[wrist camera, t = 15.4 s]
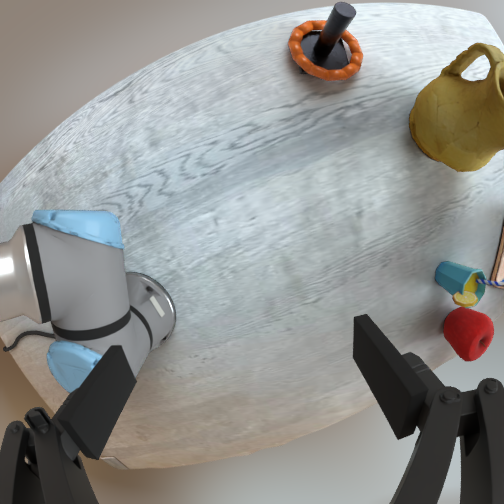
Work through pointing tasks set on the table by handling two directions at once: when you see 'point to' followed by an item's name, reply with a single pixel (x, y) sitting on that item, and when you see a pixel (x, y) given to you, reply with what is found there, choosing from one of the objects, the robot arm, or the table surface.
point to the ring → (317, 70)
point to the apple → (468, 332)
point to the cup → (463, 283)
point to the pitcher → (462, 113)
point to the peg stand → (329, 40)
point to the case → (499, 264)
